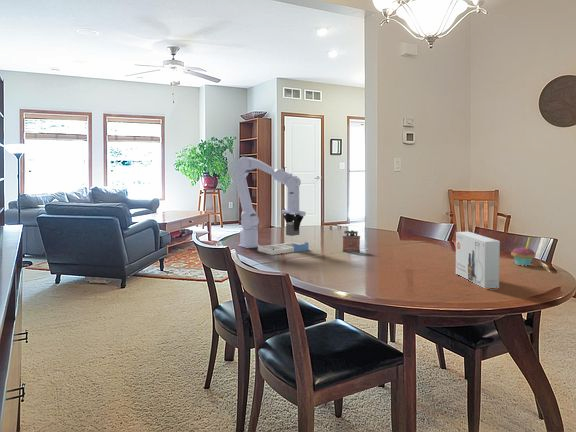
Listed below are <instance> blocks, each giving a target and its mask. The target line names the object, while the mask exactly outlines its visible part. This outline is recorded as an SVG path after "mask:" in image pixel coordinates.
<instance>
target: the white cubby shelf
mask: <svg viewBox="0 0 576 432" xmlns="http://www.w3.org/2000/svg"><path fill="white" fill-rule="evenodd" d="M309 246H310V245H309V242H307V241H305V242H304V243H303V244H302V243H298V242H294V241H293V242H285V243H277V244H269V245H268V244H267V245H261V246H260V247H257V252H260V253H263V254H267V255H272V256H274V255H278V254H279V255H281V253H282V254H287V253H297V252H304V251H309ZM273 249H274V250H273Z"/></svg>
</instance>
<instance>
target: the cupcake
mask: <svg viewBox="0 0 576 432" xmlns="http://www.w3.org/2000/svg"><path fill="white" fill-rule="evenodd" d="M530 240H531V236H528V237H527V242H526V246H525V247H516V248H514V249H512V250H511V253H510V255H511V256H512V257H513V259H514V262H515V265H516V264H521V265H529V266H530V265H531V262H532V261H533V259H534V258H536V252H535V251H534V250H532V249H531V248H529V245H530Z"/></svg>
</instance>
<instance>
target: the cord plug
mask: <svg viewBox="0 0 576 432" xmlns="http://www.w3.org/2000/svg"><path fill="white" fill-rule="evenodd" d="M285 235H286V236H291V237H293V236H299V235H300V229H299V230H297V231H295V230H294V221H293V222H288V223H286V224H285Z"/></svg>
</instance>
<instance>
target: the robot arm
mask: <svg viewBox="0 0 576 432" xmlns="http://www.w3.org/2000/svg"><path fill="white" fill-rule="evenodd" d="M235 167H236V168H235V170H234V171H235V172H234V181H235V185H236V189H237V194H238V198H239V202H240V206H241V210H242V211H241V214H240V219H241V220H240V225H241V226H242V228H241V230H240V231H239V244H238V245H237V246H238V247H241V248H246V249H253V248H258V247H260V246H262V245H260V244H259V243H258V242H259V239H258V236H259V235H258V234H259V233H258V232H259V230H258V229H259V228H258V225H259V224H260V217H259V216H258V215H257V211H255V209H254V207H253V203H252V198H251V195H250V190H249V186H248V182H247V181H248V180H247V177H248V175H249V173H251V172H252V171H253V170H254V169H259V170H260V171H263V172H265V173H266V174H269V175H271V176H272V178H273V180H275V181H277V182H278V183H281V184H282V185H285V186H286V188H287V194H286V197H287V198H286V199H287V202H286V204H287V205H286V206H287V208H286V209H282V210H281V214H282V215H283V219H284V220H285V223H286V224H287V223H288V222H294V230H295V231H297V230H299V231H300V226H301V223H302V221H303V219H304V217H306V211H302V210H300V186H301V184H302V183H301V179H300V177H298V176H297V175H293V173H292V172H291V173H289V172H287V171H285V169H284V168H282V167H281V168H274V167H272V166H270V165H268V164H267V163H266V162H264V161H263V160H262V161H261V160H260V159H258V158H255V157H251V156H250V157H249V156H241V157H239V159H238V160H237V161H236V162H235Z"/></svg>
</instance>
